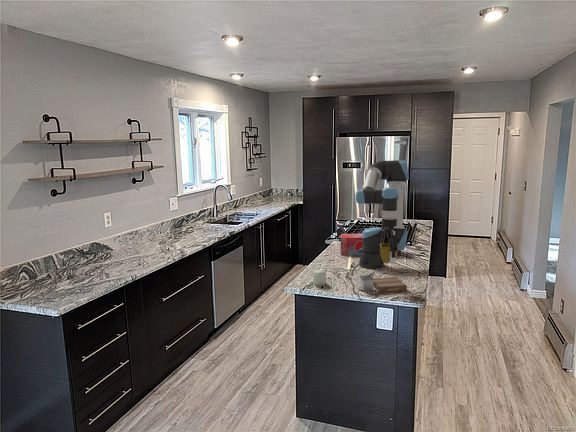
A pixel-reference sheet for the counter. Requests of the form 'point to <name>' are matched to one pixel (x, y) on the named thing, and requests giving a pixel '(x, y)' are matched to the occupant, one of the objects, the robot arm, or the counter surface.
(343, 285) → the counter surface
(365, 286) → the metal tin
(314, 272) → the pale green rounded cylinder
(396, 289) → the brown curved panel
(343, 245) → the soda box
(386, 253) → the flower pot
